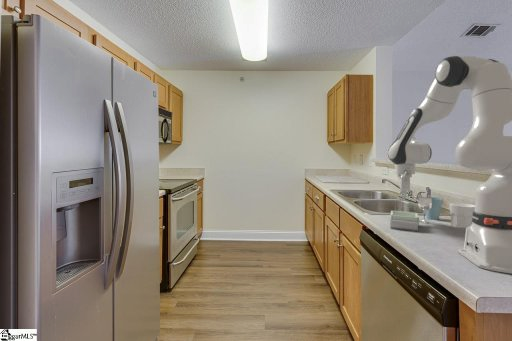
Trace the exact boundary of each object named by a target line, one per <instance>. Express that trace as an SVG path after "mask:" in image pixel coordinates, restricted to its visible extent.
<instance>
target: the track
mask: <svg viewBox="0 0 512 341" xmlns="http://www.w3.org/2000/svg"><path fill="white" fill-rule="evenodd" d="M389 219H390V221H389V222H390V223H389V224H390V229H392V230H401V231H410V232H411V231H412V232H419V231H420V229H419V226H418V222H411V221H400V220H392V223H391V216H390V217H389Z"/></svg>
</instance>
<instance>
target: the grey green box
mask: <svg viewBox="0 0 512 341" xmlns="http://www.w3.org/2000/svg"><path fill="white" fill-rule="evenodd" d="M390 217H391V223H392V220H400V221H411V222H418V227H419V225H420V222H419V221H420V216H419V214H418V213H417V212H412V211H402V210H390Z"/></svg>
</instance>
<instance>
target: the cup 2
mask: <svg viewBox="0 0 512 341" xmlns="http://www.w3.org/2000/svg"><path fill="white" fill-rule="evenodd" d="M474 210H475V204H470V203H460V202H452V203H449V212H450V214H449V215H450V226H452V227H455V228H459V229H466V228H468V227H469V226H471V225H472V223H473V222H472V215H473V211H474Z"/></svg>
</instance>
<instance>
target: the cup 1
mask: <svg viewBox="0 0 512 341" xmlns="http://www.w3.org/2000/svg"><path fill="white" fill-rule="evenodd" d="M428 197H429V198H431V200H432V208H431V209H430V210H428V211H425V212H426V214H425V218H426V219H427V220H428V219H429V220H436V221H437V220H439V219H440V214H441V209H442V204H443V198H441V197H433V196H432V197H431V196H428Z"/></svg>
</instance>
